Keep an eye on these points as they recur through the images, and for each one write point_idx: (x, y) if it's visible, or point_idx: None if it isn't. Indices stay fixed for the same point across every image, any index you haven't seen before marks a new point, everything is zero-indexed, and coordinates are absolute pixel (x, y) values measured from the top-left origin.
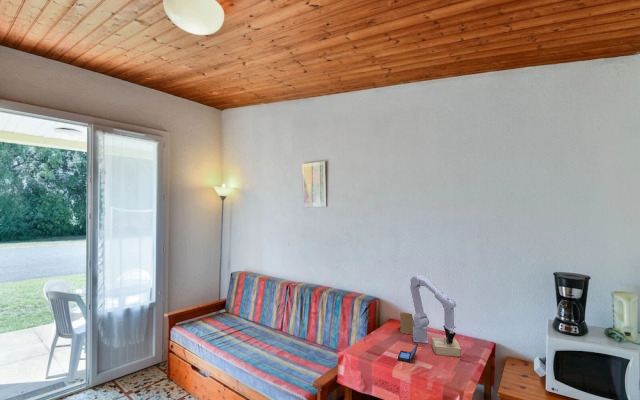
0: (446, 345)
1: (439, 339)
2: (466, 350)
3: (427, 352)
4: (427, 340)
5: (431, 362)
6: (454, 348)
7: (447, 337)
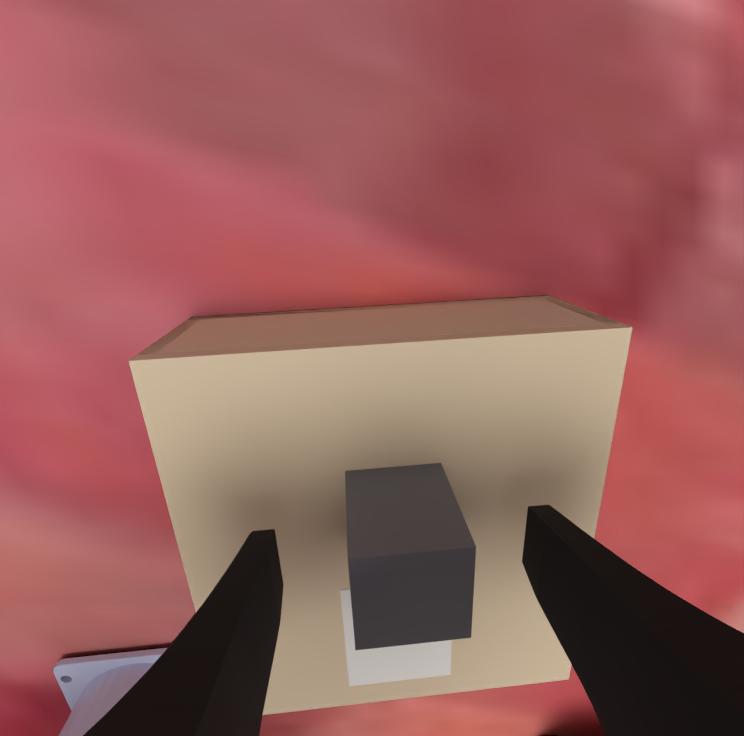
0: (509, 550)
1: None
2: (255, 146)
3: None
4: (143, 658)
5: (699, 606)
6: (608, 438)
7: (413, 630)
